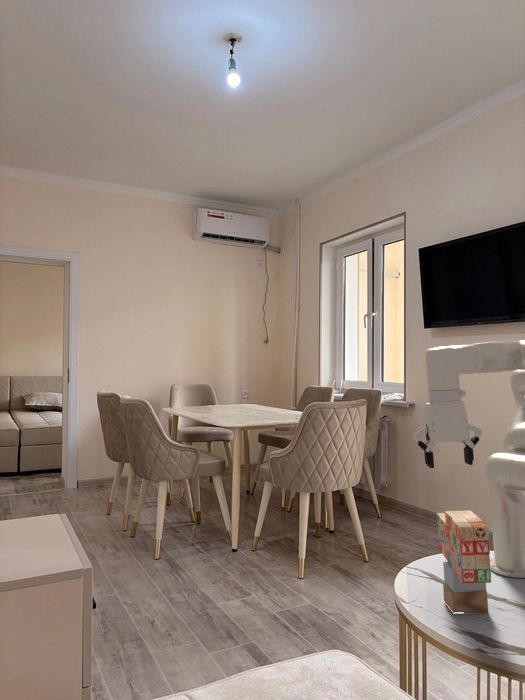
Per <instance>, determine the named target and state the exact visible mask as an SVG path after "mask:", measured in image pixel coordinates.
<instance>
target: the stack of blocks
mask: <svg viewBox="0 0 525 700" xmlns="http://www.w3.org/2000/svg"><path fill="white" fill-rule="evenodd" d="M435 514H436V525H437V537H438V548H439V550H440V552H441V553H442V555H443V556H444V557H445V560H446V562H449V564H450V565H451V566H452V568H453V569H454V571H455V573H456V574H457V576H458V577H459V579H460V580H461V582H462V583H486V584H489V583H490V584H491V583H492V570H491V569H490V560H491V557H490V553H491V552H490V550H491V549H490V538H489V537H490V534H489V533H490V532H489V531H490V530H489V526H488V525H487V524H486V523H485V522H484V520H482V518H480V517H479V516H478V515H476V513H474V512H473V511H472V510H446V511H444V512H442V513H441V512H439V513H435Z"/></svg>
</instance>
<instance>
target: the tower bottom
mask: <svg viewBox="0 0 525 700" xmlns="http://www.w3.org/2000/svg"><path fill="white" fill-rule="evenodd" d="M442 587H443V589H442V590H443V602H444V601H445V603H446V604H447V605H448V606H449V607H450V609H451V610H452V611H453V613H454V612H464V613H478V614H489V603H488V591H487V590H486V591H474V592H459V593H454V592H453V591H452V590H451V589H450V588H449V587H448V586H447V585H446V584H445V582H443V583H442ZM445 603H444V604H445ZM453 613H452V614H453Z"/></svg>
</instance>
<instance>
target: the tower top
mask: <svg viewBox="0 0 525 700" xmlns="http://www.w3.org/2000/svg"><path fill="white" fill-rule="evenodd" d="M442 564H443V565H442V566H443V578H444V579H443V580H444V582H443V583H445V584H446V585H447V586H448V587H449V588H450V589H451V590H452V591H453V592H454V593H459V592H474V591H487V583H462V582H461V580H460V579H459V577H458V576H457V574H456V573H455V571H454V569H453V568H452V566H451V565H450V564H449V562H448V561H443V563H442Z"/></svg>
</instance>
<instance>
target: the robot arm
mask: <svg viewBox="0 0 525 700" xmlns="http://www.w3.org/2000/svg"><path fill="white" fill-rule="evenodd" d="M424 354H425V366H426V367H425V369H426V381H427V394H428V402H425V405H424V416H423V417H424V418H423V427H422V428H420V429H419V430H417V431H416V432H414V433H413V434H412V438H413V441H415V443H416V445H417V446H418V447H420V449H422V450H423V452H424V463H425V465H426V466H427V467H428V468H430V469H434V468H435V460H434V452H433V451H432V449H433V448H434V446H435V445H436V444H437V445H440V444H452V443H455V444H456V443H463V445H464V446H465V447H464V448H463V457H464V459H463V460H464V463H465V464H466V465H469V466H473V465H474V464H473V461H474V460H475V459H474V449H475V448H476V445H477V444H478V443H479V441H480V438H481V436H482V433H483V429H481V428H480V427H476V426H474V425H472V424H469V419H468V414H467V409H466V407H465V404H464V401H463V400H462V397H466V390H461V387H460V386H461V385H460V376H459V375H474V374H493V373H502V372H511V373H510V379H509V380H510V388H511V391H512V395H513V398H514V402H515V403H514V404H515V410H514V412H513V415H512V417H511V420H510V421H509V424H508V425H507V428H506V431H505V433H504V436H503V440H502V444H503V448H504V449H505V451H507V452H495V453H492V454H491V455H489V456H488V457H487V458H486V459H485V463H484V468H483V469H484V475H485V479H486V482H487V486H488V489H489V498H490V511H491V526H492V541H493V542H492V543H493V554H494V555H493V557H494V558H492V559H490V569H491V572H493V573H495V574H498V575H500V576H503V577H507V578H517V579H525V494H524V492H525V339H520V340H501V341H483V342H478V343H477V342H476V343H471V344H459V345H457V344H456V345H447V346H445V345H444V346H437V347H432V348H429V349H427V350H426V352H425V353H424ZM470 431H471V432H473V436H472V437H471V438H470V436H471V435H470ZM423 436H424V439H425V440H426V441H425V442H424V441H423V440H422V438H421V437H423Z"/></svg>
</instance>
